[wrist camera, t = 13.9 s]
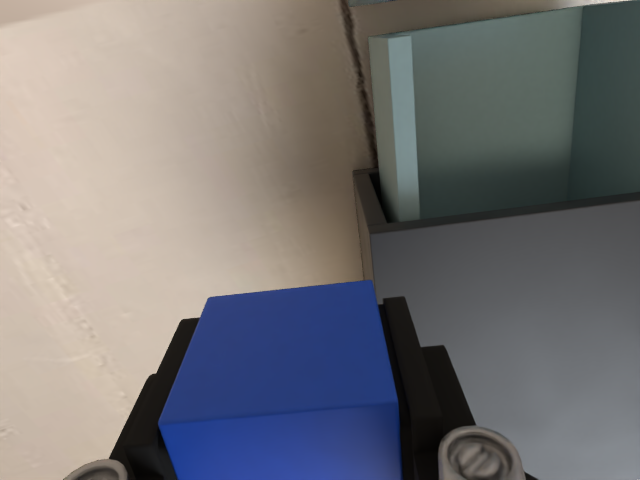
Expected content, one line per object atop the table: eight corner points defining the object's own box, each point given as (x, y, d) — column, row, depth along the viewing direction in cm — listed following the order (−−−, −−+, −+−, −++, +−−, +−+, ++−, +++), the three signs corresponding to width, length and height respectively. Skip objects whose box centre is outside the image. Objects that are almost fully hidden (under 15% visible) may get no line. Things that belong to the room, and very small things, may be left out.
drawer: (332, -164, 19) (340, -263, 12) (625, -213, 18) (788, -340, 12) (372, 252, 26) (390, 322, 20) (581, 226, 26) (667, 289, 19)
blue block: (207, 295, 11) (155, 423, 8) (372, 278, 11) (399, 400, 8) (239, 419, 13) (208, 572, 9) (383, 405, 13) (408, 556, 9)
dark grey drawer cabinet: (352, 170, 25) (368, 233, 17) (592, 138, 24) (723, 189, 17) (375, 384, 31) (395, 504, 23) (569, 363, 30) (658, 478, 22)
